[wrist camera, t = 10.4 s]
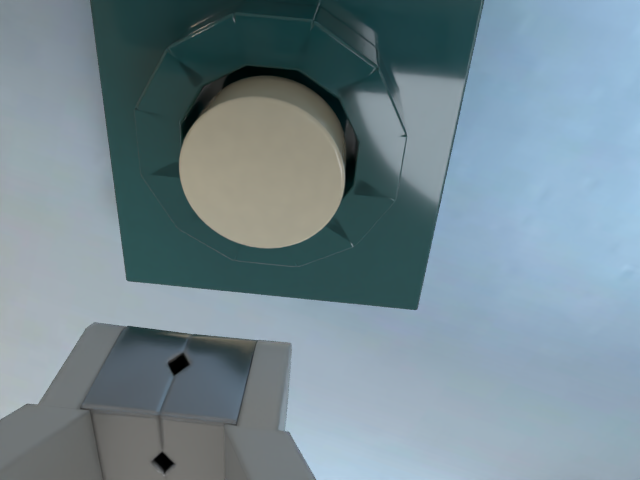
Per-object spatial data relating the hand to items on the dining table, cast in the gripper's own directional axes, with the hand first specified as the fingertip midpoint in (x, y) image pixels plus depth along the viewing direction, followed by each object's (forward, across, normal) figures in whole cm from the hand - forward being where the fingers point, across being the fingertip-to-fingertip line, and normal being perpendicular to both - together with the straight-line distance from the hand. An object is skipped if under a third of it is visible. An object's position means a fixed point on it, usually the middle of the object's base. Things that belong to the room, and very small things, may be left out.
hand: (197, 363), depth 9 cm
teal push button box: (+12, 0, 0) cm, 12 cm away
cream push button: (+8, 0, 0) cm, 8 cm away
